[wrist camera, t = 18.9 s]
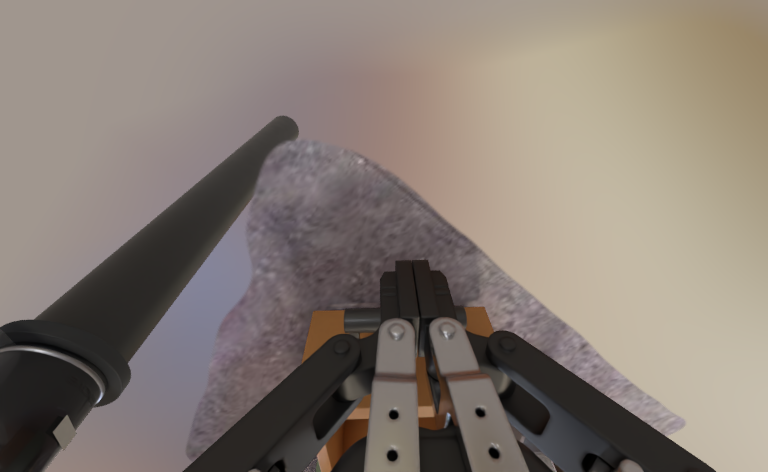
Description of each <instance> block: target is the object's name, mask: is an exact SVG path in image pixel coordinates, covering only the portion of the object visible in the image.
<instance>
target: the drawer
mask: <svg viewBox="0 0 768 472" xmlns="http://www.w3.org/2000/svg"><path fill="white" fill-rule="evenodd" d="M454 308H455V312H456V315H457V319H458V321H459V322H460V323H461V324H462V325H463V327H464V328H465V329H466V330H467V331H469V332H471V333H474V334H477V335H481V336H485V337H489V336H490V335H491V334H492V333H493V332H494V331H493V328H492V326H491V323H490V321H489V318H488V315H487V313H486V310H485V308H484V307H463V306H454ZM380 322H381V308H355V309H345V310H333V311H313V315H312V319H311V323H310V328H309V332H308V337H307V341H306V345H305V350H304V354H303V359H302V363H303V362H304V361H305V360H306V359H308V358H309V357H310V356H311V355H312V354H313V353H314V352H315V351H316V350H317V349H319V348H320V347H321V346H322V345H323V344H324V343H325V342H326V341H327V340H328V339H330V338H331V337H333V336H335V335H338V334H350V335H353V336H354V337H356V338H357V339H362V338H365V337H368V336H370V335H372V334H373V333H374V332H375V331H376V330H377V329H378V328H379V326H380ZM415 358H416V377H417V392H418V425H419V427H423V428H427V429H431V430H436V423H435V417H434V412H433V408H432V403H431V399H430V394H429V390H428V385H427V380H426V376H425V369H426V363H425V357H419V356H418V349H417V357H415ZM302 363H301V364H302ZM370 402H371V394H369V395H367V396H364V397H363V399H362V401H361V402H360V404H359V405H358V406H357V407H356V408H355V410H354V411H353V412H352V413H351V414H350V416H349V417H348V418H347V419H346V420H345V422H344V423H343V424H342V425H341V426H340V428H339V429H338V430H337V431H336V432H335V434H334V435H333V436H332V437H331V438H330V440H329V441H328V442H327V443H326V444H325V446H324V447H323V448H322V449H321V450H320V452H319V453H318V454H317V458H318V462H319V466H320V469H321V472H330V471H331V470H332V469H333V467H334V466H335V465H336V463H337V462H338V460H339V459H340V458H341V456H342V455H343V454H344V453H345V452H346V451H347V449H348V448H349V447H350V446H352V445H353V444H354V443H355V442H357V441H358V440H360V439H361V438H363V437H365V436H367V433H368V422H369V412H370Z"/></svg>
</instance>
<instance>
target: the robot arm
mask: <svg viewBox="0 0 768 472" xmlns="http://www.w3.org/2000/svg"><path fill="white" fill-rule="evenodd" d="M380 307H381V322H380V326H379V328H378V329H377V330H376V331H375V332H374V333H373V334H372V335H370V336H368V337H365V338H362V339H357V338H356V337H354V336H353V335H350V334H338V335H335V336H333V337H331V338H330V339H328V340H327V341H326V342H325V343H324V344H323V345H322V346H321V347H320V348H319V349H317V350H316V351H315V352H314V353H313V354H312V355H311V356H310V357H309V358H308V359H306V360H305V361H304V362H303V363H302V364H301V365H300V366H299V367H298V368H296V369H295V370H294V371H293V372H292V373H291V374H290V375H289V376H288V377H287V378H285V379H284V380H283V381H282V382H281V383H280V384H279V385H278V386H277V387H276V388H274V389H273V390H272V391H271V392H270V393H269V394H268V395H267V396H266V397H265V398H263V399H262V400H261V401H260V402H259V403H258V404H257V405H256V406H255V407H253V408H252V409H251V410H250V411H249V412H248V413H247V414H246V415H245V416H244V417H242V418H241V419H240V420H239V421H238V422H237V423H236V424H235V425H234V426H233V427H231V428H230V429H229V430H228V431H227V432H226V433H225V434H224V435H223V436H222V437H220V438H219V439H218V440H217V441H216V442H215V443H214V444H213V445H212V446H210V447H209V448H208V449H207V450H206V451H205V452H204V453H203V454H202V455H201V456H199V457H198V458H197V459H196V460H195V461H194V462H193V463H192V464H191V465H190V466H188V468H186V469H185V470H184V471H183V472H303V471H304V470H305V468H306V467H307V466H308V465H309V464H310V462H311V461H312V460H313V459H314V458H315V456H316V455H317V454H318V453H319V452H320V450H321V449H322V448H323V447H324V446H325V444H326V443H327V442H328V441H329V440H330V438H331V437H332V436H333V435H334V434H335V432H336V431H337V430H338V429H339V428H340V426H341V425H342V424H343V423H344V422H345V420H346V419H347V418H348V417H349V416H350V414H351V413H352V412H353V411H354V410H355V408H356V407H357V406H358V405H359V404H360V402H361V401H362V399H363V397H364V396H367V395H369V394H371V402H370V412H369V422H368V433H367V436H365V437H363V438H361V439H360V440H358V441H357V442H355V443H354V444H353V445H352V446H350V447H349V448H348V449H347V451H346V452H345V453H344V454H343V455H342V456H341V458H340V459H339V460H338V462H337V463H336V465H335V466H334V467H333V469H332V470H331V471H330V472H553V471H552V470H551V469H550V468H549V467H548V466H547V465H546V464H545V463H544V462H543V461H542V460H541V459H540V458H539V457H538V456H537V455H536V454H535V453H534V452H533V451H531V450H530V449H529V448H528V447H527V446H526V445H524V444H523V443H522V442H520V441H518V440H517V439H516V438H515V435H514V433H513V431H512V428H511V426H510V424H511V425H512V426H514V427H515V428H516V429H517V430H518V431H519V432H520V433H521V434H522V435H524V436H525V437H526V438H527V439H528V440H529V441H530V442H531V443H532V444H534V445H535V446H536V447H537V448H538V449H539V450H540V451H541V452H542V453H544V454H545V455H546V456H547V457H548V458H549V459H550V460H551V461H553V462H554V463H555V464H556V465H557V466H558V467H559V468H560V469H561V470H563V471H564V472H716V471H715V470H714V469H712V468H711V467H709V466H708V465H707V464H706V463H704V462H703V461H701V460H700V459H698V458H697V457H695V456H694V455H692V454H691V453H689V452H688V451H686V450H685V449H684V448H682V447H680V446H679V445H678V444H676V443H675V442H673V441H672V440H670V439H669V438H667V437H666V436H664V435H663V434H661V433H660V432H659V431H657V430H656V429H654V428H653V427H651V426H650V425H648V424H647V423H645V422H644V421H642V420H641V419H639V418H638V417H637V416H635V415H634V414H632V413H631V412H629V411H628V410H626V409H625V408H623V407H622V406H620V405H619V404H617V403H616V402H614V401H613V400H612V399H610V398H609V397H607V396H606V395H604V394H603V393H601V392H600V391H598V390H597V389H595V388H594V387H592V386H591V385H590V384H588V383H587V382H585V381H584V380H582V379H581V378H579V377H578V376H576V375H575V374H573V373H572V372H570V371H569V370H567V369H566V368H565V367H563V366H562V365H560V364H559V363H557V362H556V361H554V360H553V359H551V358H550V357H548V356H547V355H545V354H544V353H542V352H541V351H540V350H538V349H537V348H535V347H534V346H532V345H531V344H529V343H528V342H526V341H525V340H523V339H522V338H520V337H519V336H517V335H516V334H514V333H512V332H508V331H496V332H493V333H492V334H491V335H490V336H489V337H485V336H481V335H477V334H474V333H471V332H469V331H467V330H466V329H465V328H464V327H463V325H462V324H461V323H460V322H459V321H458V319H457V315H456V312H455V308H454V305H453V301H452V297H451V294H450V290H449V288H448V283H447V279H446V277H445V276H444V275H443V274H442V273H441V272H440V270H439V271H430V267H429V262H428V260H412V263H411V260H402V261H395V272H384V274H383V275H382V277H381V279H380ZM417 349H418V356H419V357H425V363H426V369H425V376H426V380H427V385H428V390H429V394H430V399H431V403H432V408H433V412H434V417H435V423H436V430H431V429H427V428H423V427H419V425H418V392H417V377H416V358H415V357H417ZM107 388H108V383H107V380H106V378H105V376H104V375H103V373H102V372H101V371H100V370H99V369H98V368H97V367H96V366H95V365H93V364H92V363H91V362H89V361H88V360H86V359H84V358H83V357H81V356H79V355H77V354H75V353H72V352H70V351H68V350H65V349H62V348H59V347H55V346H52V345H47V344H42V343H35V342H16V343H10V344H7V345H4V346H2V347H0V472H45V470H46V469H47V468H48V466H49V465H50V464H51V462H52V461H53V460H54V458H55V457H56V456H57V454H58V453H59V452H60V450H61V449H63V450H65V448H66V447H67V446H68V444H69V443H70V442H71V440H72V439H73V438H74V436H75V435H76V434H77V433H76V429H77V428H78V427H79V425H80V424H81V423H82V421H83V420H84V419H85V417H86V416H87V415H88V413H89V412H90V411H91V409H92V408H93V407H94V405H95V404H97V403H98V402H99V401H100V400H101V398H102V397H103V396H104V394H105V393H106V391H107Z"/></svg>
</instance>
